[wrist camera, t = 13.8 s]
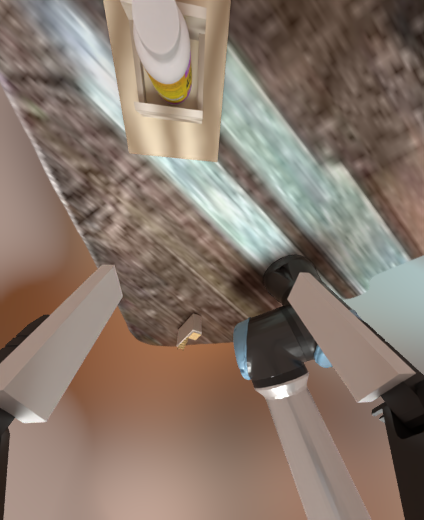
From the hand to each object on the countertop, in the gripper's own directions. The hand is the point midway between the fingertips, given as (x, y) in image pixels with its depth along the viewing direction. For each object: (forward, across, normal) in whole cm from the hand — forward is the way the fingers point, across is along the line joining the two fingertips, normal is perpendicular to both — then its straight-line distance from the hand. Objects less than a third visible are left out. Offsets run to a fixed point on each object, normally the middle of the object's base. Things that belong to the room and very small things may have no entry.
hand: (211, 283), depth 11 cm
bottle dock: (+26, +6, -19) cm, 33 cm away
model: (+29, +2, +42) cm, 51 cm away
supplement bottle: (+26, +6, -18) cm, 32 cm away
